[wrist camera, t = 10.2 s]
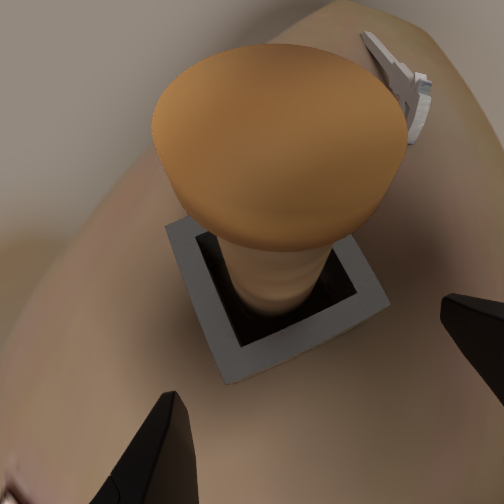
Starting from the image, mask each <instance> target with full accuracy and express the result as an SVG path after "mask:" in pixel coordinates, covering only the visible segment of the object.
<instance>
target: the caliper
mask: <svg viewBox="0 0 504 504" xmlns="http://www.w3.org/2000/svg"><path fill="white" fill-rule="evenodd" d="M360 35H361V36H362V39H363V41H364V44H365V45H366V46H367V48H368V49H369V50H370V51H371V53H372V54H373V55H374V57H375V58H376V59H377V61H378V62H379V63H380V65H381V66H382V67H383V69H384V70H385V72H386V73H387V74H388V76H389V77H390V81H389V87H390V88H392V90H393V93H394V94H396V95H399V97H400V102H399V105H400V107H401V109H402V111H403V114H404V117H405V120H406V123H407V130H408V144H412V145H413V144H415V142H416V140H417V138H418V136H419V134H420V132H421V130H422V127H423V125H424V123H425V121H426V117H427V114H428V110H429V106H430V102H431V97H430V96H429V92H430V88H431V84H432V81H428V80H426V75H425V74H421V73H417V72H414V75H413V73H412V72H411V71H410V70H409V69H408V68H407V67H406V66H405V64H404V63H399V62H398V61H397V60H396V59H395V58H394V57H393V55H392V54H391V53H390V52H389V51H388V50H387V49H386V48H385V47H384V45H383V44H382V43H381V42H380V41H379V40H378V39H377V38H376V37H375V36H374V35H373V34H372V33H371V32H366V31H363V33H360Z"/></svg>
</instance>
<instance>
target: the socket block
mask: <svg viewBox="0 0 504 504" xmlns="http://www.w3.org/2000/svg"><path fill="white" fill-rule="evenodd" d="M165 228H166V231H167V234H168V237H169V240H170V243H171V246H172V249H173V252H174V255H175V258H176V261H177V263H178V266H179V269H180V272H181V275H182V277H183V280H184V283H185V286H186V288H187V291H188V294H189V296H190V299H191V302H192V304H193V307H194V310H195V312H196V315H197V317H198V320H199V323H200V325H201V328H202V330H203V333H204V335H205V338H206V340H207V343H208V345H209V348H210V350H211V352H212V355H213V357H214V360H215V362H216V364H217V367H218V369H219V371H220V374H221V376H222V378H223V381H224V383H225V385H228V384H235V383H238V382H240V381H243V380H245V379H248V378H250V377H252V376H255V375H257V374H259V373H262V372H264V371H266V370H269V369H271V368H273V367H275V366H278V365H280V364H282V363H284V362H287V361H289V360H291V359H293V358H295V357H297V356H299V355H302V354H304V353H306V352H308V351H310V350H312V349H314V348H316V347H318V346H320V345H322V344H324V343H326V342H328V341H330V340H332V339H334V338H336V337H338V336H340V335H342V334H344V333H346V332H347V331H349V330H351V329H353V328H355V327H357V326H359V325H360V324H362V323H364V322H366V321H367V320H369V319H370V318H372V317H373V316H375V315H376V314H378V313H379V312H381V311H382V310H384V309H385V308H387V307H388V306H390V305H391V303H390V301H389V299H388V297H387V295H386V294H385V292H384V290H383V288H382V286H381V284H380V283H379V281H378V279H377V277H376V276H375V274H374V272H373V270H372V268H371V267H370V265H369V263H368V261H367V260H366V258H365V256H364V255H363V253H362V251H361V249H360V248H359V246H358V244H357V243H356V241H355V239H354V238H353V236H352V234H350V235H348V236H347V237H345V238H343V239H341V240H339V241H336V242H334V245H333V247H332V249H331V251H330V254H329V256H328V258H327V260H326V262H325V264H324V267H323V269H322V271H321V273H320V275H319V277H320V278H321V280H322V282H323V284H324V286H325V288H326V290H327V292H328V294H329V295H330V297H331V299H332V301H333V303H334V305H333V306H331V307H329V308H327V309H325V310H323V311H321V312H319V313H317V314H315V315H312V316H310V317H308V318H306V319H304V320H302V321H300V322H298V323H296V324H293V325H291V326H289V327H287V328H285V329H282V330H280V331H278V332H276V333H274V334H271V335H269V336H267V337H265V338H262V339H260V340H258V341H255V342H253V343H251V344H248V345H246V346H244V347H243V346H242V344H241V341H240V339H239V337H238V335H237V332H236V330H235V328H234V325H233V323H232V321H231V318H230V316H229V314H228V311H227V309H226V307H225V304H224V302H223V300H222V297H221V295H220V292H219V290H218V288H217V285H216V283H215V280H214V278H213V275H212V273H211V270H210V268H209V267H210V266H212V265H214V264H217V263H219V262H222V261H224V257H223V254H222V251H221V248H220V245H219V242H218V239H217V236H216V235H214V234H212V233H211V232H209V231H208V230H206V229H205V228H203V227H202V226H201V225H200V224H198V223H197V222H196V221H195V220H194V219H193V218H192V217H191V216H188V217H186V218H183V219H181V220H178V221H176V222H174V223H171V224H169V225H167V226H165Z"/></svg>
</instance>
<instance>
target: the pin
mask: <svg viewBox="0 0 504 504" xmlns="http://www.w3.org/2000/svg"><path fill="white" fill-rule="evenodd" d="M152 136H153V142H154V145H155V147H156V150H157V153H158V155H159V157H160V160H161V162H162V164H163V167H164V169H165V171H166V174H167V176H168V178H169V181H170V183H171V185H172V187H173V190H174V192H175V194H176V196H177V198H178V200H179V201H180V203H181V205H182V206H183V208H184V209H185V210H186V211H187V213H188V214H189V215H190V216H191V217H192V218H193V219H194V220H195V221H196V222H197V223H198V224H200V225H201V226H202V227H203V228H205V229H206V230H208V231H209V232H211V233H212V234H214V235H216V236H217V239H218V242H219V245H220V248H221V251H222V254H223V257H224V260H225V263H226V266H227V269H228V272H229V275H230V278H231V281H232V284H233V287H234V289H235V292H236V295H237V298H238V301H239V304H240V306H241V308H242V310H243V311H244V313H245V314H246V315H247V316H248V317H249V318H251V319H252V320H253V321H255V322H257V323H260V324H262V325H267V326H278V325H283V324H286V323H288V322H290V321H292V320H293V319H295V318H296V317H297V316H298V315H299V314H300V313H301V311H302V310H303V308H304V306H305V304H306V302H307V300H308V298H309V296H310V294H311V292H312V290H313V288H314V286H315V284H316V282H317V279H318V277H319V275H320V273H321V271H322V269H323V267H324V264H325V262H326V260H327V258H328V256H329V254H330V251H331V249H332V247H333V245H334V242H336V241H339V240H341V239H343V238H345V237H347V236H348V235H350V234H351V233H353V232H354V231H356V230H357V229H359V228H360V227H361V226H362V225H363V224H364V223H365V222H366V221H368V220H369V218H370V217H371V216H372V215H373V213H374V212H375V211H376V209H377V207H378V206H379V204H380V202H381V200H382V198H383V197H384V195H385V193H386V191H387V189H388V187H389V185H390V184H391V182H392V180H393V178H394V176H395V174H396V172H397V170H398V168H399V166H400V164H401V162H402V160H403V158H404V156H405V153H406V149H407V145H408V130H407V123H406V120H405V117H404V114H403V111H402V109H401V107H400V105H399V103H398V102H397V100H396V99H395V97H394V96H393V95H392V93H391V92H390V91H389V90H388V89H387V88H386V86H385V85H384V84H383V83H382V82H381V81H379V80H378V79H377V78H376V77H375V76H374V75H372V74H371V73H369V72H368V71H367V70H365V69H364V68H362V67H360V66H359V65H357V64H355V63H353V62H351V61H349V60H347V59H345V58H343V57H341V56H338V55H335V54H333V53H330V52H326V51H323V50H319V49H316V48H311V47H306V46H299V45H291V44H260V45H250V46H245V47H239V48H235V49H231V50H227V51H224V52H221V53H219V54H215V55H213V56H210V57H208V58H206V59H204V60H202V61H200V62H198V63H196V64H195V65H193V66H192V67H190V68H189V69H187V70H186V71H184V72H183V73H182V74H180V75H179V76H178V77H177V78H176V79H175V80H174V81H173V82H172V83H171V84H170V85H169V86H168V87H167V88H166V90H165V91H164V93H163V94H162V96H161V97H160V99H159V101H158V103H157V105H156V107H155V111H154V114H153V118H152Z"/></svg>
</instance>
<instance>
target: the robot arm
mask: <svg viewBox="0 0 504 504" xmlns="http://www.w3.org/2000/svg"><path fill="white" fill-rule="evenodd" d="M440 320H441V323H442V324H443V326H444V327H445V329H446V330H447V332H448V333H449V334H450V336H451V337H452V339H453V340H454V342H455V343H456V345H457V346H458V348H459V349H460V351H461V352H462V353H463V355H464V356H465V357H466V359H467V360H468V361H469V362H470V363H471V365H472V366H473V367H474V368H475V370H476V371H477V372H478V373H479V375H480V376H481V377H482V378H483V380H484V381H485V382H486V384H487V385H488V386H489V387H490V389H491V390H492V391H493V393H494V394H495V395H496V397H497V398H498V399H499V401H500V402H501V403H502V405H503V406H504V303H502V302H497V301H491V300H486V299H481V298H476V297H471V296H466V295H460V294H455V293H450V294H448V295H446V296H444V297H443V298H442V301H441V311H440ZM110 475H111V476H108V478H107V479H106V481H105V482H104V484H103V485H102V487H101V488H100V490H99V491H98V493H97V494H96V495H95V497H94V498H93V499H92V501H91V502H90V503H89V504H199V497H198V484H197V469H196V456H195V450H194V444H193V439H192V433H191V427H190V422H189V415H188V411H187V409H186V407H185V405H184V403H183V402H182V400H181V398H180V396H179V395H178V393H177V392H176V391H170V392H165V393H163V394H162V395H161V396H160V398H159V399H158V401H157V402H156V404H155V405H154V407H153V409H152V410H151V412H150V413H149V415H148V416H147V418H146V419H145V421H144V422H143V424H142V425H141V427H140V429H139V430H138V432H137V433H136V435H135V436H134V438H133V439H132V441H131V442H130V444H129V446H128V447H127V449H126V450H125V452H124V453H123V455H122V456H121V458H120V459H119V461H118V462H117V464H116V466H115V467H114V469H113V470H112V472H111V473H110Z"/></svg>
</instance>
